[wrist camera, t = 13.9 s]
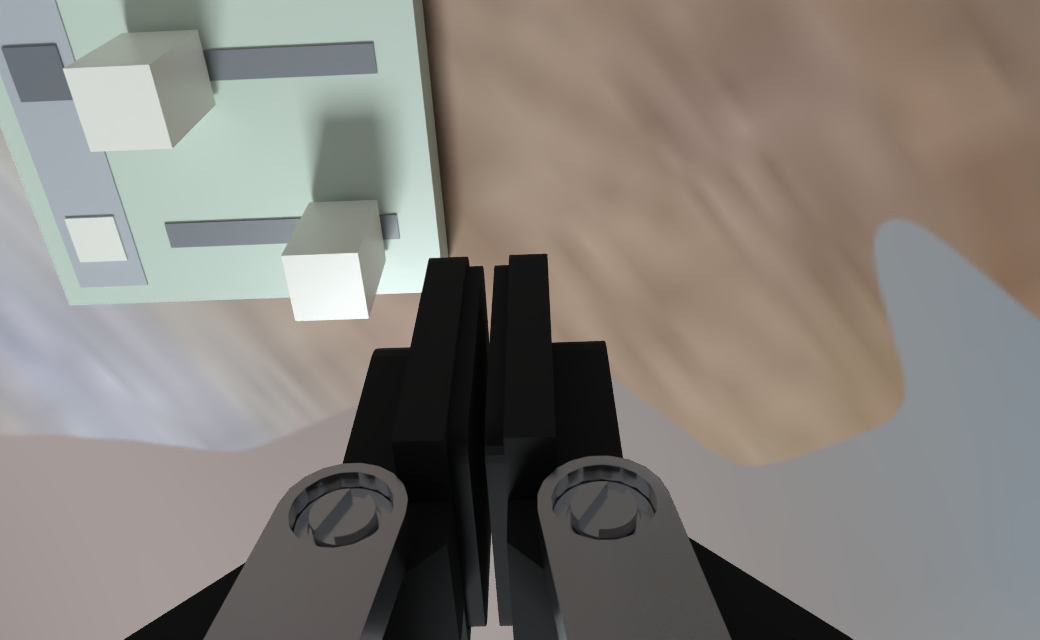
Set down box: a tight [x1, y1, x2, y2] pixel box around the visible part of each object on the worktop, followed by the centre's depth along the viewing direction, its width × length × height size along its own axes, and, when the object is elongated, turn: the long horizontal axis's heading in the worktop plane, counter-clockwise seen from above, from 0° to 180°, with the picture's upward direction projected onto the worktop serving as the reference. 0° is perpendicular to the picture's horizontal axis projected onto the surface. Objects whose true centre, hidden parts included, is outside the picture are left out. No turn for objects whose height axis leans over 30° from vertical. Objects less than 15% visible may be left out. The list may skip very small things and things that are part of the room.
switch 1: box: [63, 30, 216, 152], centre depth 31 cm, size 3×3×5 cm
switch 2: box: [281, 200, 386, 321], centre depth 35 cm, size 3×3×5 cm
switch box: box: [0, 0, 449, 305], centre depth 35 cm, size 18×22×3 cm
